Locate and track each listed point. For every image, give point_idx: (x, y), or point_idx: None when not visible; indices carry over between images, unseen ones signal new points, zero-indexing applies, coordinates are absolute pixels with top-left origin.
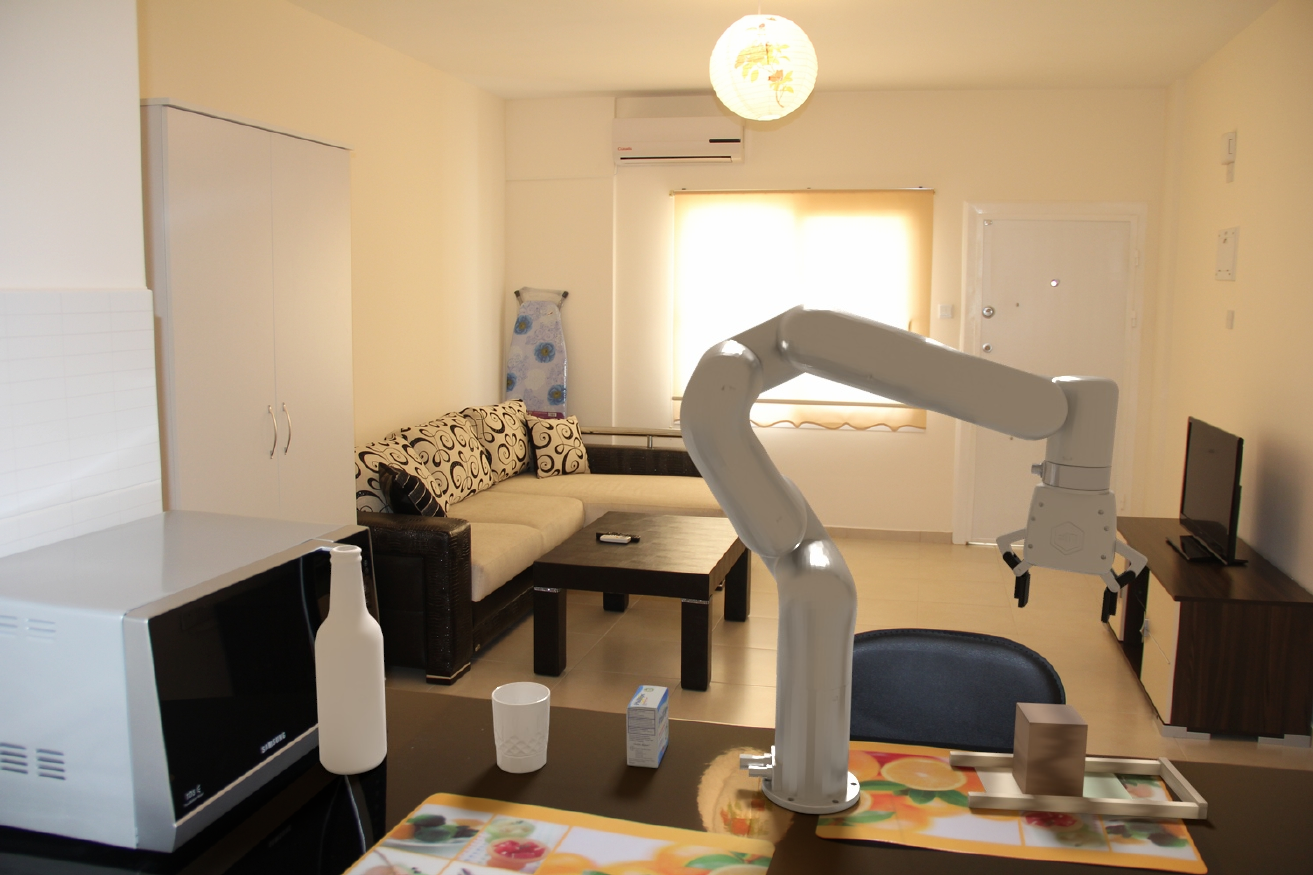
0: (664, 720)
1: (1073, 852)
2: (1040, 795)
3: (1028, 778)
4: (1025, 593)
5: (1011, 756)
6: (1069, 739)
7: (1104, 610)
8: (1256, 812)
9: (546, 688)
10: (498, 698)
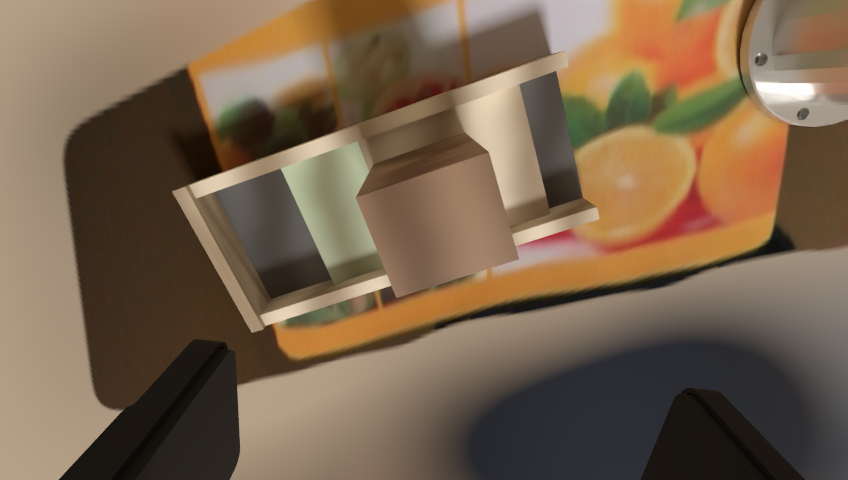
0: None
1: (380, 9)
2: (441, 109)
3: (465, 137)
4: (734, 477)
5: None
6: (396, 175)
7: (175, 390)
8: (137, 270)
9: None
10: None
